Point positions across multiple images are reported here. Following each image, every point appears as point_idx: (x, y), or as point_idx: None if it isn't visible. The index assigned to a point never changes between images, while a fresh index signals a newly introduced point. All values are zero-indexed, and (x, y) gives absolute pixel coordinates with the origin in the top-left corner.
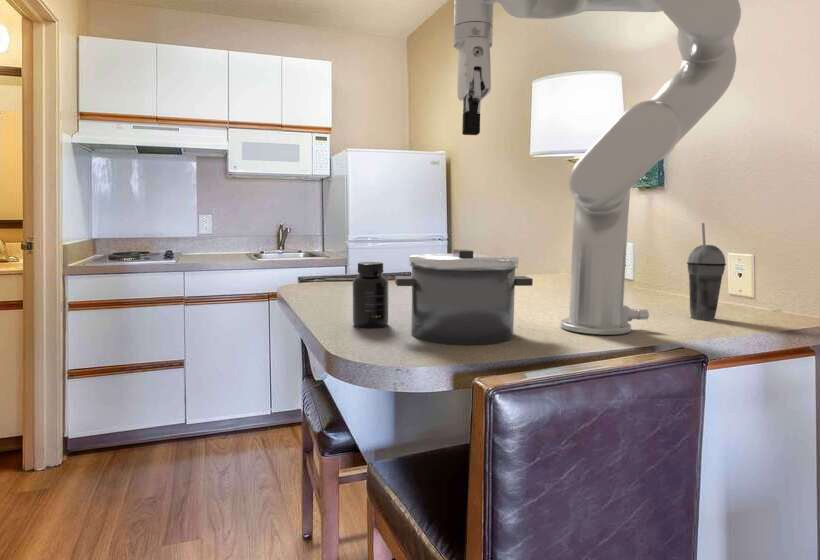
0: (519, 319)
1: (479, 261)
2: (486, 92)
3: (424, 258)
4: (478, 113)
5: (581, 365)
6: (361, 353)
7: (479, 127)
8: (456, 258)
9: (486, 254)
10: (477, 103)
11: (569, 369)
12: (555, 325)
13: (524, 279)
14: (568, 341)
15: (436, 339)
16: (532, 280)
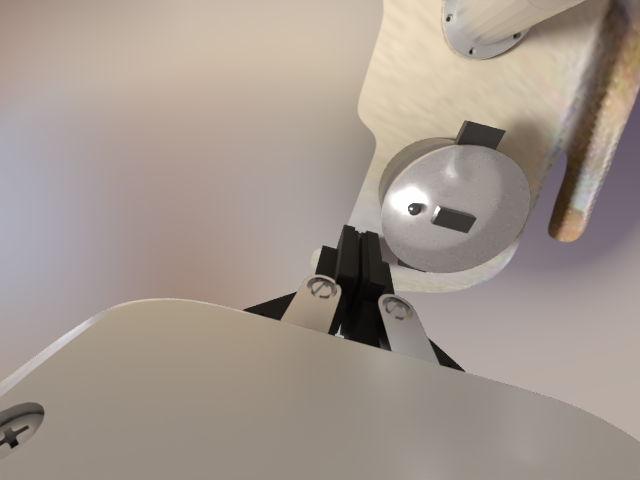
0: (384, 80)
1: (519, 230)
2: (469, 402)
3: (451, 266)
4: (380, 292)
5: (595, 150)
6: (449, 279)
7: (378, 245)
8: (468, 235)
9: (418, 162)
10: (446, 363)
11: (595, 168)
12: (440, 51)
13: (498, 142)
14: (519, 97)
15: None
16: (504, 131)
